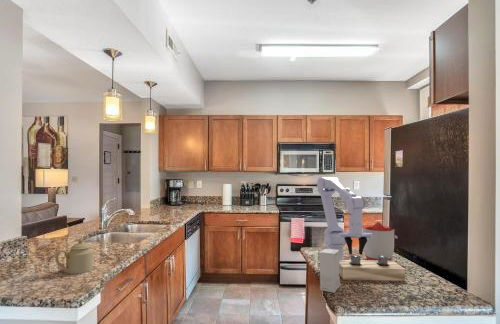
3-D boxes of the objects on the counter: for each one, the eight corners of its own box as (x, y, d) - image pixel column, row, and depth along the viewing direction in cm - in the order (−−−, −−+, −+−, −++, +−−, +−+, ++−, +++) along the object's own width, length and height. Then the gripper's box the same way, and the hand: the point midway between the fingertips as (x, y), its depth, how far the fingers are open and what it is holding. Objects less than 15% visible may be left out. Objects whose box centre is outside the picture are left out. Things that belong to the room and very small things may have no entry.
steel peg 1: (349, 265, 143) (349, 254, 143) (358, 265, 143) (358, 254, 143) (352, 267, 139) (352, 257, 139) (361, 267, 139) (361, 257, 139)
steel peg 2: (376, 265, 142) (376, 255, 142) (385, 265, 142) (385, 255, 142) (379, 268, 138) (379, 257, 138) (389, 268, 138) (389, 257, 138)
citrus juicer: (404, 265, 156) (403, 224, 157) (368, 264, 156) (368, 224, 157) (390, 256, 172) (390, 219, 172) (358, 256, 172) (358, 219, 172)
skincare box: (334, 293, 120) (334, 254, 120) (319, 290, 123) (319, 252, 123) (340, 286, 127) (340, 249, 127) (325, 283, 130) (325, 247, 130)
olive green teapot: (75, 278, 135) (75, 242, 136) (53, 276, 137) (53, 241, 138) (98, 267, 150) (98, 235, 150) (78, 266, 152) (78, 234, 152)
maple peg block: (336, 270, 147) (336, 259, 147) (392, 271, 146) (392, 260, 146) (343, 279, 135) (343, 268, 135) (405, 280, 134) (404, 268, 134)
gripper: (341, 224, 137) (341, 256, 137) (375, 225, 137) (375, 256, 137) (337, 222, 144) (337, 252, 144) (369, 222, 144) (369, 252, 144)
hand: (355, 254), depth 141 cm, fingers open, 4 cm apart
